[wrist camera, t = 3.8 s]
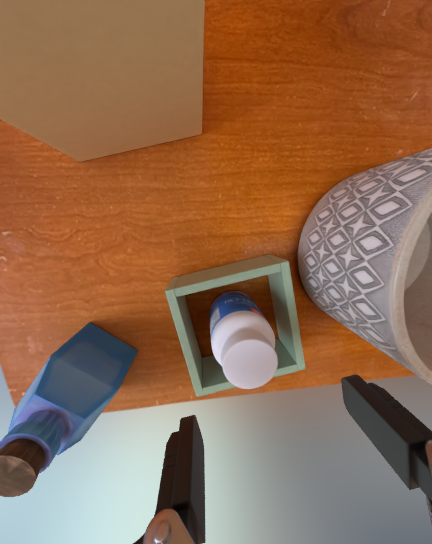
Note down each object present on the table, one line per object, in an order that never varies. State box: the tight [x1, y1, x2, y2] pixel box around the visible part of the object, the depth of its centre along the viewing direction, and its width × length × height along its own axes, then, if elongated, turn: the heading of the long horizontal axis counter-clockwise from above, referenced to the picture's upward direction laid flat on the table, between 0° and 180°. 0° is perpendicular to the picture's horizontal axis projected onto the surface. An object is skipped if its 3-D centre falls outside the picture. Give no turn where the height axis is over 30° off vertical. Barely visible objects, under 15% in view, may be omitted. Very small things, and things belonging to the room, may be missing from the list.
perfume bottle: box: [0, 322, 138, 497], centre depth 19 cm, size 6×6×12 cm
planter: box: [298, 148, 432, 385], centre depth 18 cm, size 16×16×13 cm
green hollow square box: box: [165, 254, 305, 397], centre depth 22 cm, size 11×11×5 cm
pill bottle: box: [209, 291, 278, 389], centre depth 20 cm, size 6×5×10 cm
